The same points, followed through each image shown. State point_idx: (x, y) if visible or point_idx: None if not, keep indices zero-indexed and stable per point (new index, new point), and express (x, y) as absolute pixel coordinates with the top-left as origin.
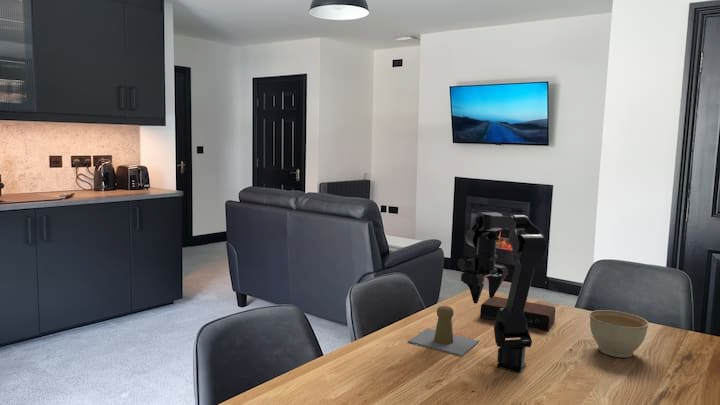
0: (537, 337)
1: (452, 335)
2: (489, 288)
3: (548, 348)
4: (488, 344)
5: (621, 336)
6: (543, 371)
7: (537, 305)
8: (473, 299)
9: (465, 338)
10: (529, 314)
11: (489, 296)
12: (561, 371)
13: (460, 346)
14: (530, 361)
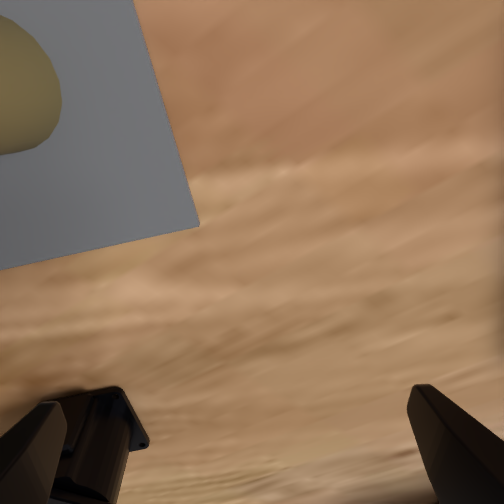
0: (462, 349)
1: (3, 152)
2: (495, 492)
3: (364, 416)
4: (213, 267)
5: None
6: (158, 479)
7: None
8: (2, 449)
9: (159, 156)
10: None
11: (419, 392)
12: (205, 499)
13: (34, 210)
14: (195, 433)
